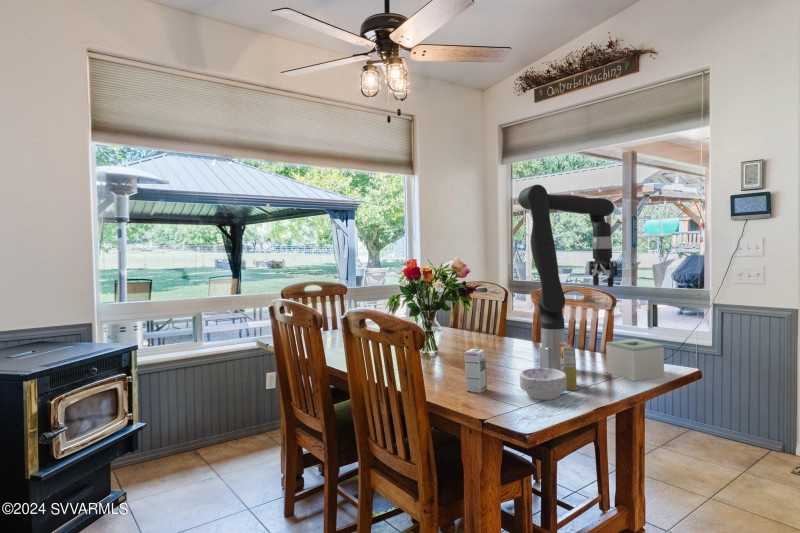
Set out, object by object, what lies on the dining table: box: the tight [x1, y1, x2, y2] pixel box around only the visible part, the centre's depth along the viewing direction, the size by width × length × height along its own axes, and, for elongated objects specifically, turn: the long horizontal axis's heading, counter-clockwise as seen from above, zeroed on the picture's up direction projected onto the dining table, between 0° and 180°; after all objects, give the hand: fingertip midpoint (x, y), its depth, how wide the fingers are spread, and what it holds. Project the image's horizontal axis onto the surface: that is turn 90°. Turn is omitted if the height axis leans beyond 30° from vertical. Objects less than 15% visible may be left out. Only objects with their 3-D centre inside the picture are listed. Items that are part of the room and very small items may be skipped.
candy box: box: [559, 341, 578, 391], centre depth 173 cm, size 9×4×15 cm, turn 171°
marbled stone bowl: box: [519, 367, 567, 401], centre depth 164 cm, size 15×15×8 cm
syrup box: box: [464, 348, 488, 394], centre depth 173 cm, size 6×6×14 cm
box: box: [605, 338, 665, 382], centre depth 185 cm, size 14×14×12 cm
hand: (603, 286), depth 203 cm, fingers open, 8 cm apart
